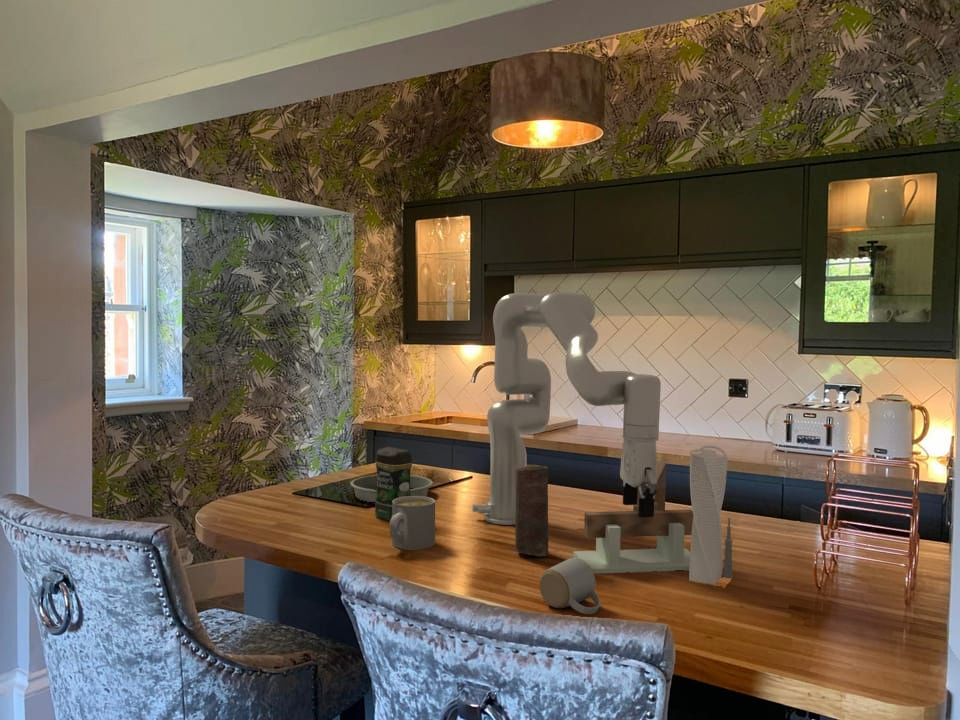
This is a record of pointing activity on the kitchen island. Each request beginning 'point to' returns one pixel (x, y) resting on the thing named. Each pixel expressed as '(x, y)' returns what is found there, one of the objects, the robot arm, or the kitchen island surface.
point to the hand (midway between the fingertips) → (637, 510)
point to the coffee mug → (413, 522)
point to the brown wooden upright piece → (657, 488)
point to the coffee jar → (391, 479)
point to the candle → (532, 510)
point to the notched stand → (637, 553)
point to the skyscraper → (708, 517)
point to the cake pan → (369, 483)
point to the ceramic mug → (569, 586)
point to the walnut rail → (636, 523)
